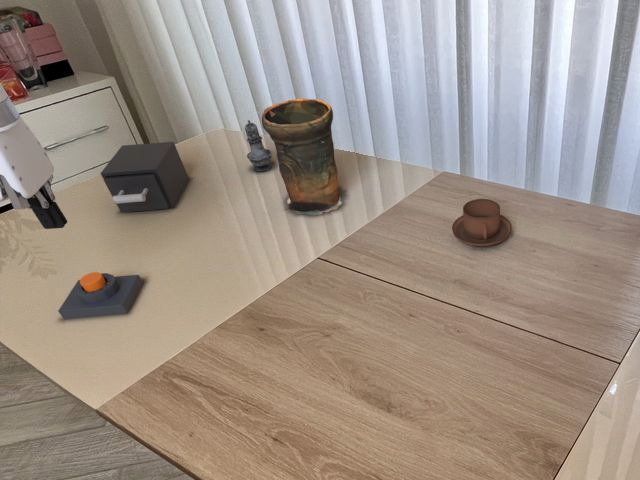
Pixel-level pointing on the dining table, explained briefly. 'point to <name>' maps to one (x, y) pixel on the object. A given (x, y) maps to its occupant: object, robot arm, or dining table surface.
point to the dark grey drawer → (137, 192)
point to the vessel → (305, 153)
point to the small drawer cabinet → (152, 166)
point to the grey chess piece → (257, 150)
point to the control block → (102, 298)
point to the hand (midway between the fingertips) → (56, 225)
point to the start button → (92, 281)
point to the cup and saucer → (481, 224)
